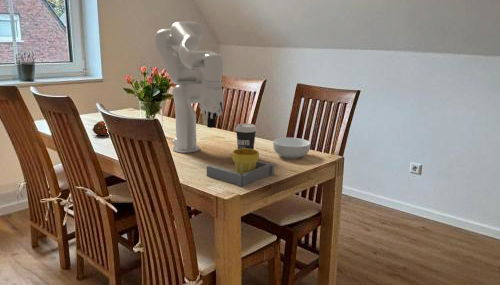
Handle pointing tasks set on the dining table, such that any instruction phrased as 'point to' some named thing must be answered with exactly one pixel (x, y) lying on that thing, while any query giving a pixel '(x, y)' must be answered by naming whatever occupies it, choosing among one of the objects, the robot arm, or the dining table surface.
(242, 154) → the plant pot
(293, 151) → the cereal bowl
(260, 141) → the dining table surface
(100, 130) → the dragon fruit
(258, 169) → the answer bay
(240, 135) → the coffee cup
